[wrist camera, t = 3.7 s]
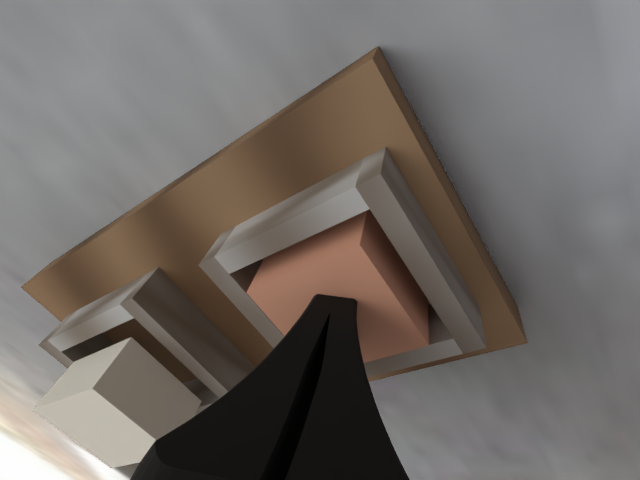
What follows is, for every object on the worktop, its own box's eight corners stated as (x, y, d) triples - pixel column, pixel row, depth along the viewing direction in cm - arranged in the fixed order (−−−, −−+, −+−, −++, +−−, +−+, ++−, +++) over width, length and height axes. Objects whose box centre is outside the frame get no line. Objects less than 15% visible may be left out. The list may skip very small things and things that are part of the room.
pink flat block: (368, 202, 14) (359, 244, 12) (427, 294, 15) (428, 345, 13) (268, 249, 16) (246, 292, 14) (330, 326, 17) (318, 375, 15)
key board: (378, 46, 13) (364, 74, 10) (517, 307, 17) (539, 386, 14) (50, 263, 22) (-14, 315, 19) (198, 398, 27) (167, 459, 23)
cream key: (131, 337, 17) (92, 388, 15) (201, 401, 19) (174, 455, 17) (73, 361, 19) (31, 410, 17) (141, 417, 21) (110, 467, 19)
